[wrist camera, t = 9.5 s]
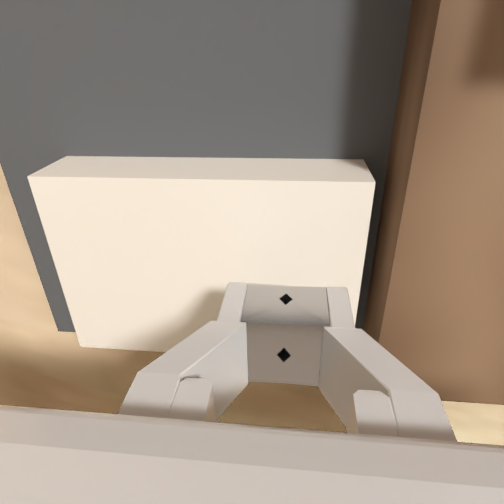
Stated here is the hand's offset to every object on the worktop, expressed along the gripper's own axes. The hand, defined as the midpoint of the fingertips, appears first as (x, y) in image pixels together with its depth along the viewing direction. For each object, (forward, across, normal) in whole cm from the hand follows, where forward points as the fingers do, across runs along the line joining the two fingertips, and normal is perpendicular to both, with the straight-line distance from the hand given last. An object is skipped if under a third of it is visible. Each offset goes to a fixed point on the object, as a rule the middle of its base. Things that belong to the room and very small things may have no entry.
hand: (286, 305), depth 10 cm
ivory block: (+3, +2, 0) cm, 4 cm away
